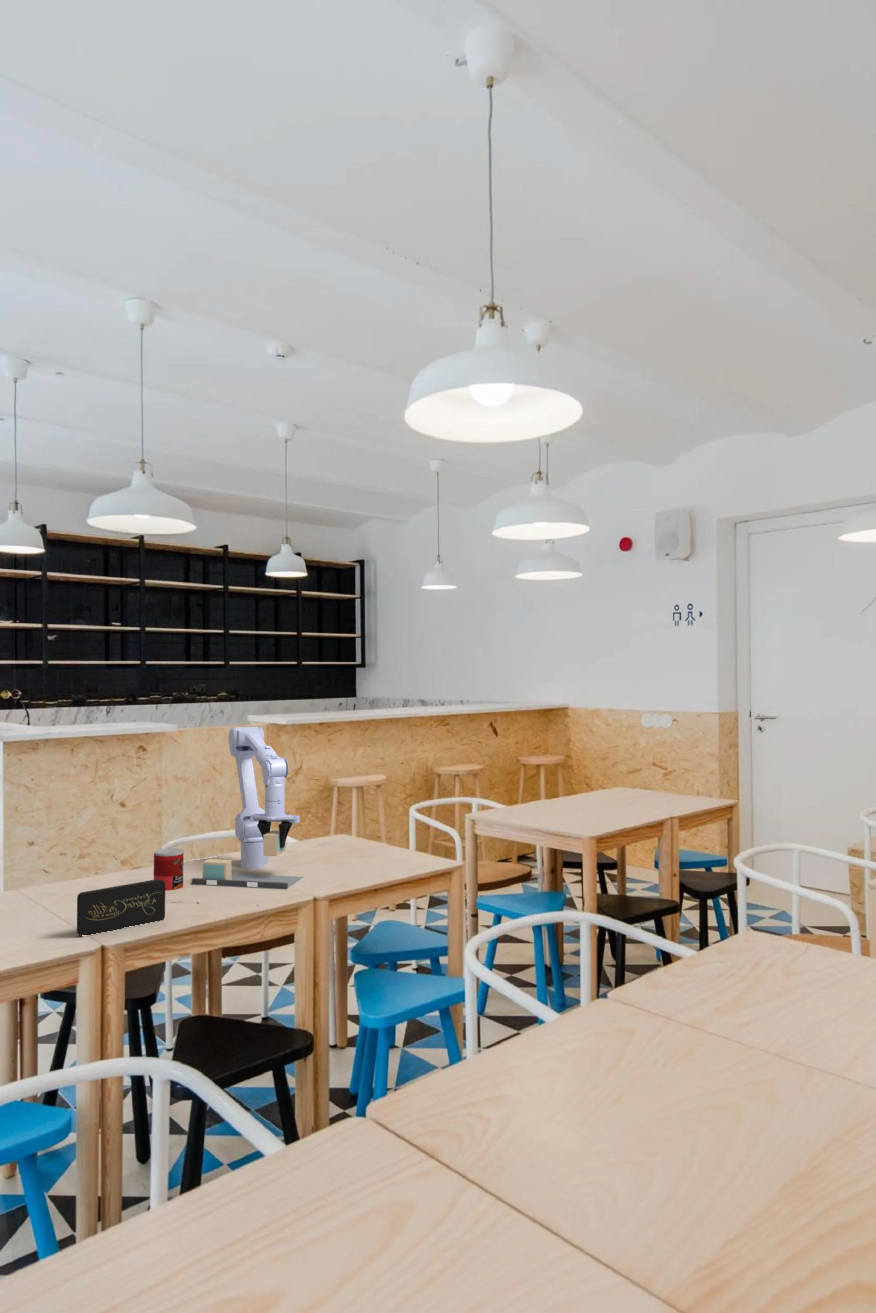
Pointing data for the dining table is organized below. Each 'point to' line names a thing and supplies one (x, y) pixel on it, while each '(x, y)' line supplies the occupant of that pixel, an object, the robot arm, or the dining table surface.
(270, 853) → the carton
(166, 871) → the canned food
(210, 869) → the faced carton
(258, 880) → the shelf board
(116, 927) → the nameplate
